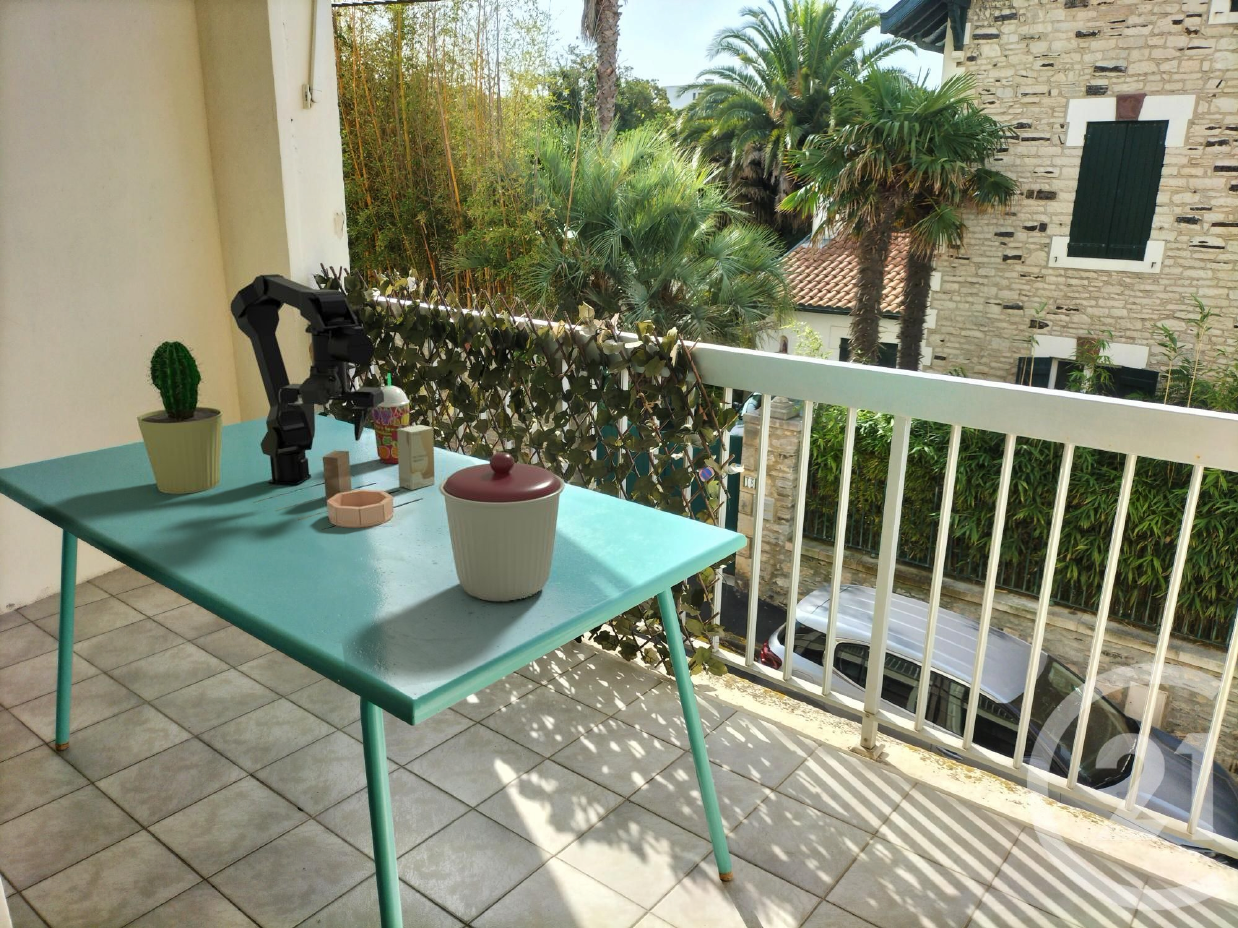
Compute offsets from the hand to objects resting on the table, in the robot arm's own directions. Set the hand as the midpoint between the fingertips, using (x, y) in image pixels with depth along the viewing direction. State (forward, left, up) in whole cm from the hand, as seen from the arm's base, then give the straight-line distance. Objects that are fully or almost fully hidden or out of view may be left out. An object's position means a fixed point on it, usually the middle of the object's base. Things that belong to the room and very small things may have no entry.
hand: (334, 439), depth 166 cm
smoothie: (0, +28, -12) cm, 30 cm away
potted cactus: (-33, +2, -12) cm, 35 cm away
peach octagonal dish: (+9, -10, -12) cm, 18 cm away
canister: (+43, -36, -12) cm, 57 cm away
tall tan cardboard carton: (0, 0, -12) cm, 12 cm away
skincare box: (+12, +11, -12) cm, 20 cm away
